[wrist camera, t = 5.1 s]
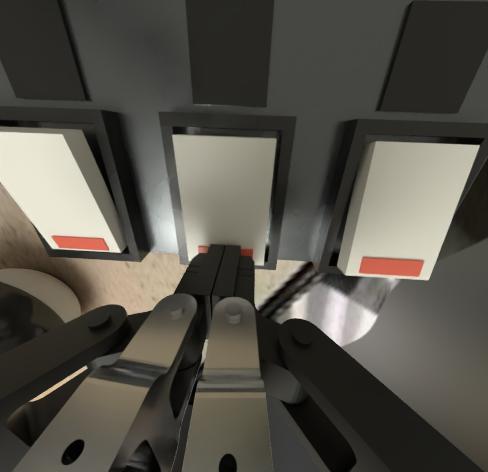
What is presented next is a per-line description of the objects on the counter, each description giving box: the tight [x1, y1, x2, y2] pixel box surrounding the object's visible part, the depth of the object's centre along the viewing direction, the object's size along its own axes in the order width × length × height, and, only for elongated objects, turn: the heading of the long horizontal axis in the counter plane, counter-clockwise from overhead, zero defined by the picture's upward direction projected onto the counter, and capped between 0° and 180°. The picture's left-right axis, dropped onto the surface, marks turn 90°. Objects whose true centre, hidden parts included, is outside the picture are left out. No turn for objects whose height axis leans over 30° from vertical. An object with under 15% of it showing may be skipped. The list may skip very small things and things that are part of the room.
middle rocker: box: [172, 134, 277, 266], centre depth 9 cm, size 6×4×1 cm, turn 178°
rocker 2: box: [337, 141, 480, 280], centre depth 9 cm, size 6×4×1 cm, turn 178°
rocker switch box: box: [0, 0, 488, 274], centre depth 10 cm, size 12×29×5 cm, turn 88°
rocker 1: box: [0, 126, 128, 253], centre depth 9 cm, size 6×4×1 cm, turn 178°
